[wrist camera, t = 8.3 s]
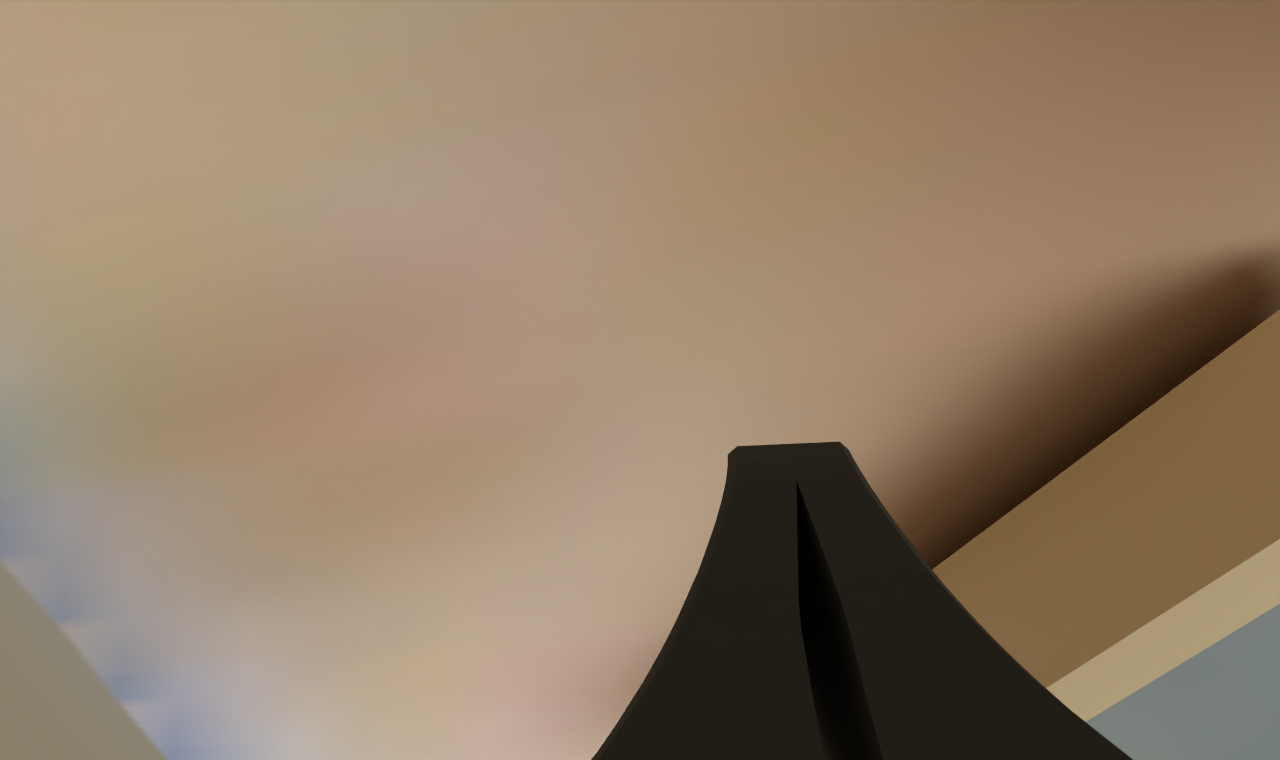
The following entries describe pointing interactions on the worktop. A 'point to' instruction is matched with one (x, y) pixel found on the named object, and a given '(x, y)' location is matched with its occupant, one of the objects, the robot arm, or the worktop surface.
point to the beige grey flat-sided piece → (1154, 570)
